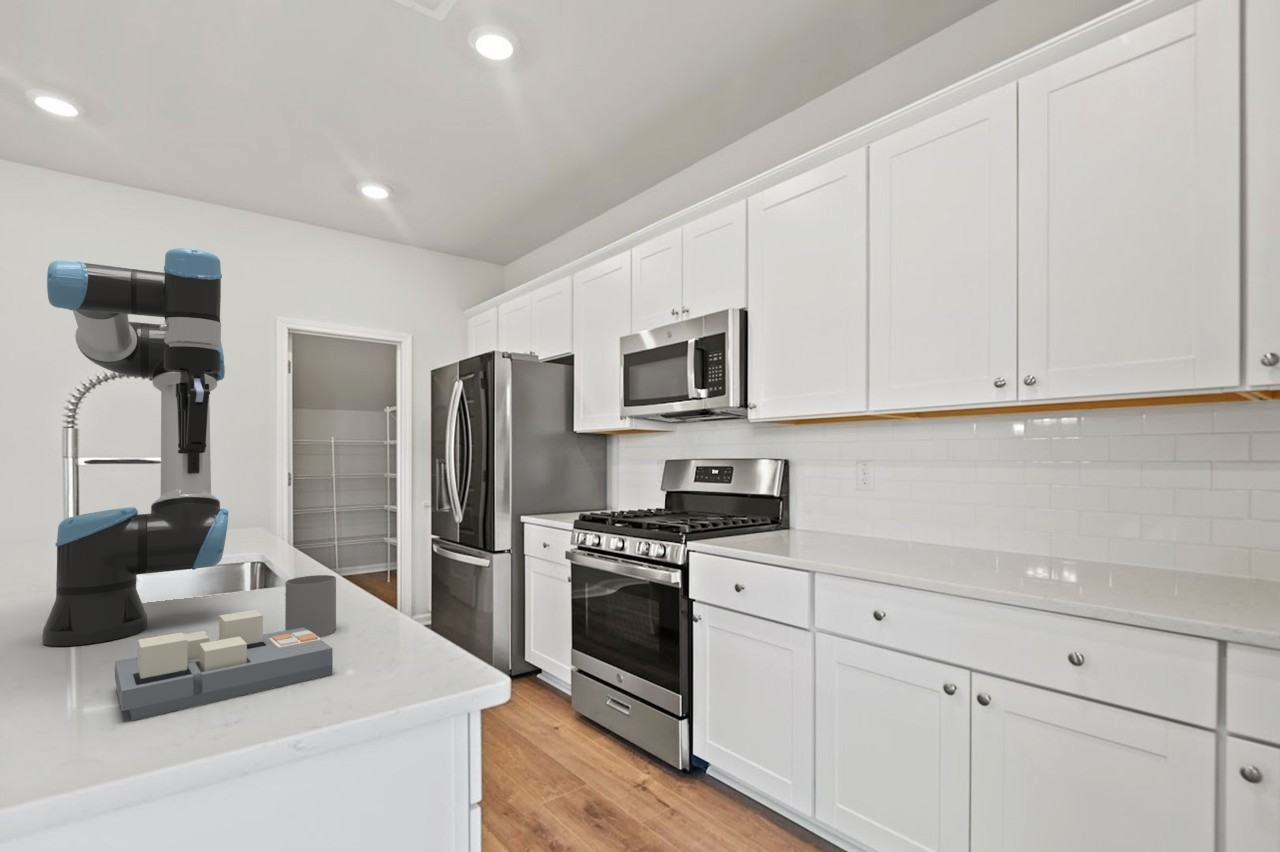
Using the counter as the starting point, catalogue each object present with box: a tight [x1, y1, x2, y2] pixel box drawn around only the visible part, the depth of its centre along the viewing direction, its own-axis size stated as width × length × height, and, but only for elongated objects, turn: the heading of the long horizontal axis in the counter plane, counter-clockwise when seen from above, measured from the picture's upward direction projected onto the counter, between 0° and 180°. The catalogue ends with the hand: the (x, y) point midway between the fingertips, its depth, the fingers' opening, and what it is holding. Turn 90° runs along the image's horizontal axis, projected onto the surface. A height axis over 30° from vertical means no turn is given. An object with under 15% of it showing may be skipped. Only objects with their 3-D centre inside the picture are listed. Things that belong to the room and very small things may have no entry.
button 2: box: [183, 630, 210, 660], centre depth 96 cm, size 5×5×4 cm
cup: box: [284, 574, 337, 638], centre depth 121 cm, size 8×8×10 cm
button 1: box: [137, 632, 187, 679], centre depth 88 cm, size 5×5×4 cm
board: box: [114, 627, 333, 722], centre depth 96 cm, size 16×25×5 cm, turn 131°
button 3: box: [199, 637, 247, 672], centre depth 93 cm, size 5×5×4 cm
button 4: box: [218, 609, 264, 644], centre depth 101 cm, size 5×5×4 cm
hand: (191, 493), depth 105 cm, fingers closed
